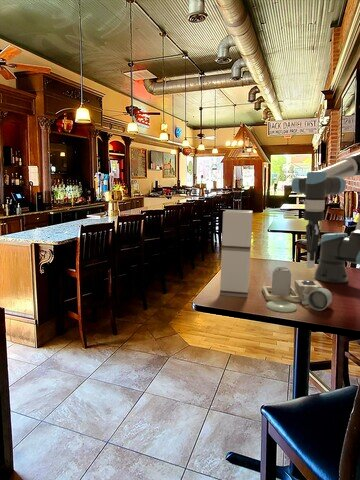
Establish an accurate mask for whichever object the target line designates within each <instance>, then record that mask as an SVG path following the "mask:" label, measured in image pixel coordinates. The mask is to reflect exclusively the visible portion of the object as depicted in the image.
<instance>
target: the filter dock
mask: <svg viewBox="0 0 360 480" xmlns="http://www.w3.org/2000/svg"><path fill="white" fill-rule="evenodd" d="M304 280H305V279H304ZM304 280H302V279H301V280H300V279H295V280H294V287H292V286H290V294H291V295H290V296H284V295H272V294H270V293H269V292H272V286H267V285H266V286H265V285H264V286H263V285H262V287H261V288H262V289H261V291H262V293H263V295H264V299H265V301H268V302H269V301H275V300H280V301H287V302H291V303H292V302H293V303H294V302H295V303H300V302H302V300H305V299H308V295H309V294H310V293H311V292H312V291H314V290H316V289H318V288H324V287H323V285H321V284H320V283H319V282H318V280H313V281H314V285H303V281H304Z"/></svg>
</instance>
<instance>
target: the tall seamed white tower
mask: <svg viewBox="0 0 360 480" xmlns="http://www.w3.org/2000/svg"><path fill="white" fill-rule="evenodd" d="M253 212H254V211H253V210H245V209H244V210H243V209H242V210H240V209H239V210H238V209H225V210H224V211H223V212H222V233H221V253H220V254H221V256H220V262H221V263H220V280H219V281H220V282H219V283H220V285H219V286H220V287H219V296H225V297H226V296H228V297H237V298H239V297H240V298H241V297H242V298H248V297H249V289H250V287H249V286H250V267H251V266H250V265H251V251H252V247H251V245H252V230H253V229H252V227H253Z"/></svg>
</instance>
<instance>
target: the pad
mask: <svg viewBox="0 0 360 480" xmlns="http://www.w3.org/2000/svg"><path fill="white" fill-rule="evenodd" d="M266 307H267V308H268V309H270V310H271V311H275V312H280V313H293V312H296V311H297V305H296V303H294V302H293V303H292V302H290V301H280V300H275V301H269V300H268V302H267V303H266Z"/></svg>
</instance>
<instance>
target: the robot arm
mask: <svg viewBox="0 0 360 480" xmlns="http://www.w3.org/2000/svg"><path fill="white" fill-rule="evenodd" d="M355 176H360V152H357V153H354V154H352V155H349V156H347V157H343V158H342V159H340V162H337V163H334V164H331V165H330V166H327V167H325V168H322V169H320V170H317V171H308V172H307V173H306V175H304V176H303V175H298V176H295V177H294V178H293V179H292V181H291V190H292V192H293V193H295V194H301V195H303V194H304V195H305V198H304V202H303V203H302V204H303V205H304V211H303V220H304V221H308V222H307V224H306V226H305V230H306V231H305V232H306V237H305V238H306V239H305V241H306V243H305V244H306V247H305V248H306V252H307V253H306V254H307V256H306V268H307V269H315V262H316V253H318V248H319V241H320V251H319V262H318V265H317V268H316V269H315V272H314V279H316V281H319V282H325V283H332V284H333V283H334V284H342V283H347V282H348V274H347V269H346V262H347V263H351V264H356V265H359V266H360V214H359V215H358V219H357V223H356V226H355V230H353V231H351V232H350V235H348V233H346V232H337V233H335V232H334V233H333V232H331V233H324V234H322V236H321V229H320V225H319V222H323V220H324V218H325V217H324V216H325V212H324V210H326V209H325V207H326V206H325V205H326V196H336V195H341V194H343V192H344V191H345V190H346V189H347V187H346V186H347V182H346V180H345V178H352V177H355ZM320 236H321V240H319V239H320Z"/></svg>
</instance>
